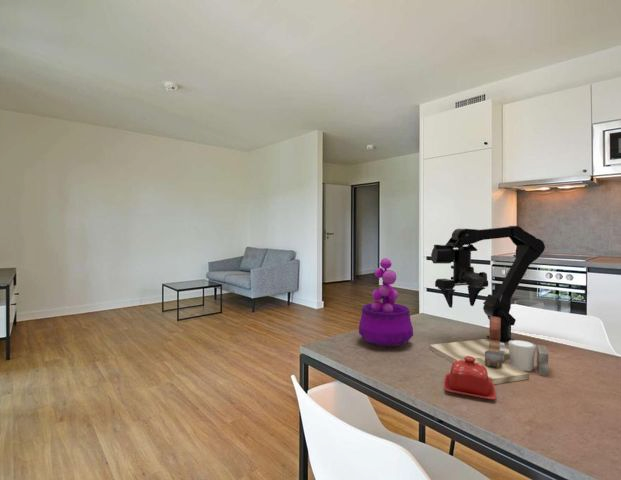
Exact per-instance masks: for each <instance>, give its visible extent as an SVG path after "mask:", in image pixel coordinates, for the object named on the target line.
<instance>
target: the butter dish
mask: <svg viewBox="0 0 621 480" xmlns="http://www.w3.org/2000/svg"><path fill="white" fill-rule="evenodd" d="M464 359H465V360H458V361H455V362H452V365H451V367H450V372H449V373H448V372H447V373H446V374H445V377H444V384H443V385H444V386H443V387H444V388H443V389H444V390H445V391H447V392H450V393H453V394H458V395H463V396H468V397H473V398H479V399H485V400H486V399H487V400H492V401H493V400H496V398H497V393H496V389H495V384H493V382H492V381H491V380H488V373H487V369H486V368H485V367H484V366H483V365H481V364H479V363H476V362H475V358H474V357H471V356H466V357H464Z"/></svg>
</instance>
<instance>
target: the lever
mask: <svg viewBox="0 0 621 480" xmlns="http://www.w3.org/2000/svg"><path fill="white" fill-rule="evenodd" d="M488 325H489V326H488V327H489V331H488V332H489V333H488V334H489V339H488V341H489V348H488V351H485V364H487V365H488V366H492V367H501V366H502V361H503V362H505V359H504V347H505V342H500V329H501V318H499V317H490V320H489V324H488Z"/></svg>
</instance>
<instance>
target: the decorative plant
mask: <svg viewBox="0 0 621 480" xmlns="http://www.w3.org/2000/svg"><path fill="white" fill-rule="evenodd" d="M379 266H380V268H379V267H378V268H376V269H375V270H374V275H375V277H376V278H377V279H381V280H382V285H380V286H379V288H376V289H373V291H372V293H371V296H372V298H373V300H374V301H373V302H372V303H367V304H364V305H363V306H362V309H361V317H360V320H359V324H358V334H359V335H360V336H361V337H362V339H364V341H366V342H368V343H370V344H374V345H377V346H381V347H382V346H384V347H395V346H400V345H403V344H407V343H408V342H409V341H410V340H411V338H412V337H413V336H414V329H413V328H414V327H413V325H412V321H411V314H410V308H409V307H407V306H405V305H402V304H398V303H395V302H396V301H397V299H398V297H399V293H398V291H397V290H396V289H394V287H393V286H392V285H393V284H394V283H395V282H396V280H397V273H396V272H394V271H393V270H390V268H391V267H392V261H391V259H389V258H387V257H384V258H382V259H381V260H380V263H379ZM381 300H382V302H381Z"/></svg>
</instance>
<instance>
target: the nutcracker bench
mask: <svg viewBox="0 0 621 480" xmlns="http://www.w3.org/2000/svg"><path fill="white" fill-rule="evenodd" d="M488 348H489V339H486V338H485V339H484V338H481V339H473V340H471V339H470V340H465V341H464V340H463V341H453V342H443V343H435V344H429V348H428V349H429V350H430V351H432V352H433V353H436V354H437V355H438V356H440V357H442V358H444V359H446V360H447V361H449V362H451V363H453V362H455V361H458V360H465V359H464V357H466V356H471V357H474V358H475V362H476V363H479V364H481V365H483V366H484V367H485V368H486V369H487V373H488V380H491V381H492V382H493V384H494V385H499V384H506V383H513V382H518V381H519V382H520V381H525V380H530V373H529V372H528V371H522V370H520V369H518V368H516V367H514V366H512V365H510V363H507V362H505V361H502V366H501V367H492V366H488V365H487V364H485V351H488ZM504 360H510V355H509V348H507V347H505V346H504ZM536 367H537V372H538V376H544V377H548V376H549V352H548V350H547V346H546V345H542V344H541V345H540V344H536Z"/></svg>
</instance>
